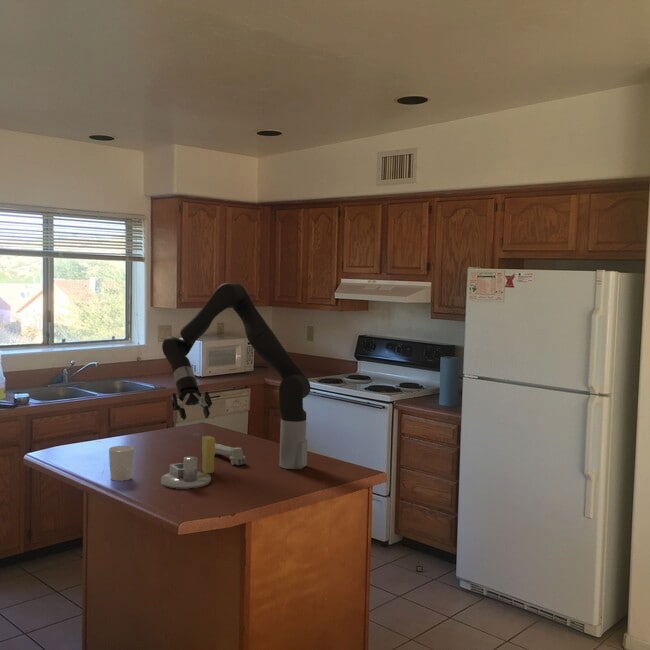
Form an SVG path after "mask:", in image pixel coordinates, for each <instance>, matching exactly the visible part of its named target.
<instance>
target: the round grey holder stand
mask: <svg viewBox="0 0 650 650" xmlns="http://www.w3.org/2000/svg"><path fill="white" fill-rule="evenodd" d="M211 481H212V477H211V474H210V473H205V472H203V471H198V457H197V456H185V457H183V462H182V463H179V462H178V463H171V464H169V472H168V473H165V474H163V475H162V476H161V477H160V484H161V486H163V487H165V488H168V487H169V489H173V488H176V489H175V490H190V489H189V488H195V489H199V488H198V487H201V488H204V487H206V485H207V486H208V484H209V483H210V482H211ZM210 484H211V483H210ZM210 484H209V485H210ZM203 486H204V487H203Z"/></svg>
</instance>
